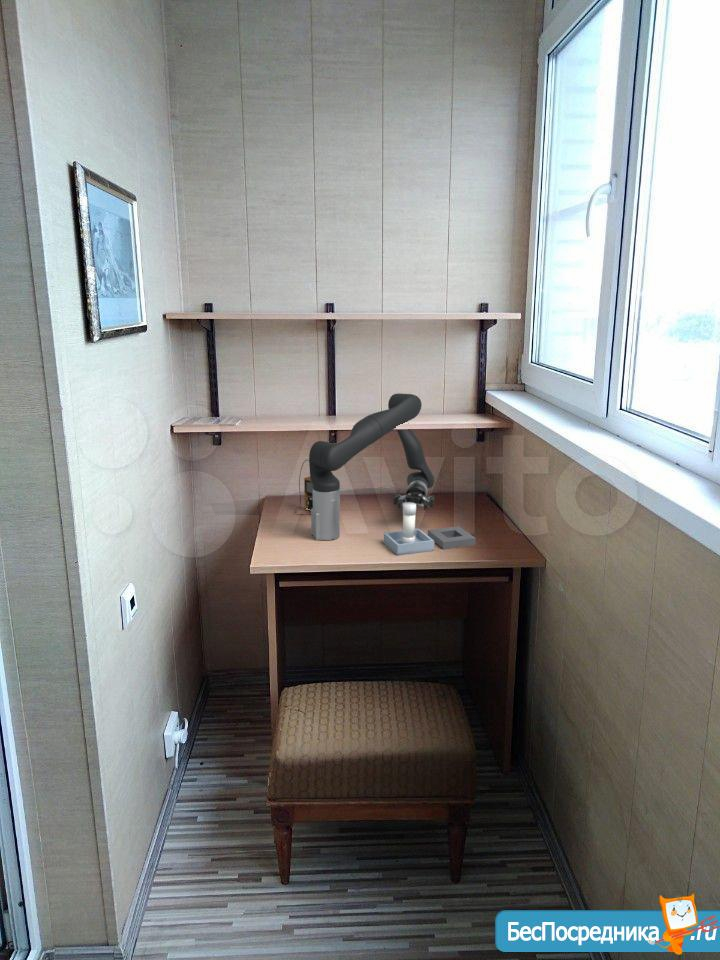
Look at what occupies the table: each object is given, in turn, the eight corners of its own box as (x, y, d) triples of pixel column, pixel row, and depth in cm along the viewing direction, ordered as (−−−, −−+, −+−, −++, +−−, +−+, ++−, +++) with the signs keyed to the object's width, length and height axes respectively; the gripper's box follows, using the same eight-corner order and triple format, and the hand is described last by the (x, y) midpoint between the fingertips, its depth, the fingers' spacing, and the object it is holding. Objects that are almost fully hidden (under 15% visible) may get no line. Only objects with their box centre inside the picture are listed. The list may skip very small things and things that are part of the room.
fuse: (404, 547, 223) (406, 507, 219) (399, 542, 226) (400, 503, 223) (417, 545, 224) (418, 505, 220) (411, 541, 228) (412, 501, 224)
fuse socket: (443, 549, 223) (443, 542, 223) (427, 536, 234) (427, 530, 233) (475, 544, 227) (475, 537, 227) (458, 532, 238) (458, 526, 237)
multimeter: (283, 512, 258) (282, 461, 252) (303, 506, 265) (302, 457, 259) (310, 521, 248) (309, 469, 243) (329, 515, 255) (329, 464, 250)
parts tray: (397, 555, 218) (397, 545, 217) (383, 542, 229) (383, 532, 228) (433, 550, 222) (434, 540, 221) (418, 538, 233) (418, 528, 232)
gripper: (397, 481, 248) (392, 494, 233) (436, 484, 246) (433, 497, 231) (397, 501, 251) (391, 515, 235) (435, 503, 248) (432, 518, 233)
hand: (412, 506), depth 233 cm, fingers open, 8 cm apart
